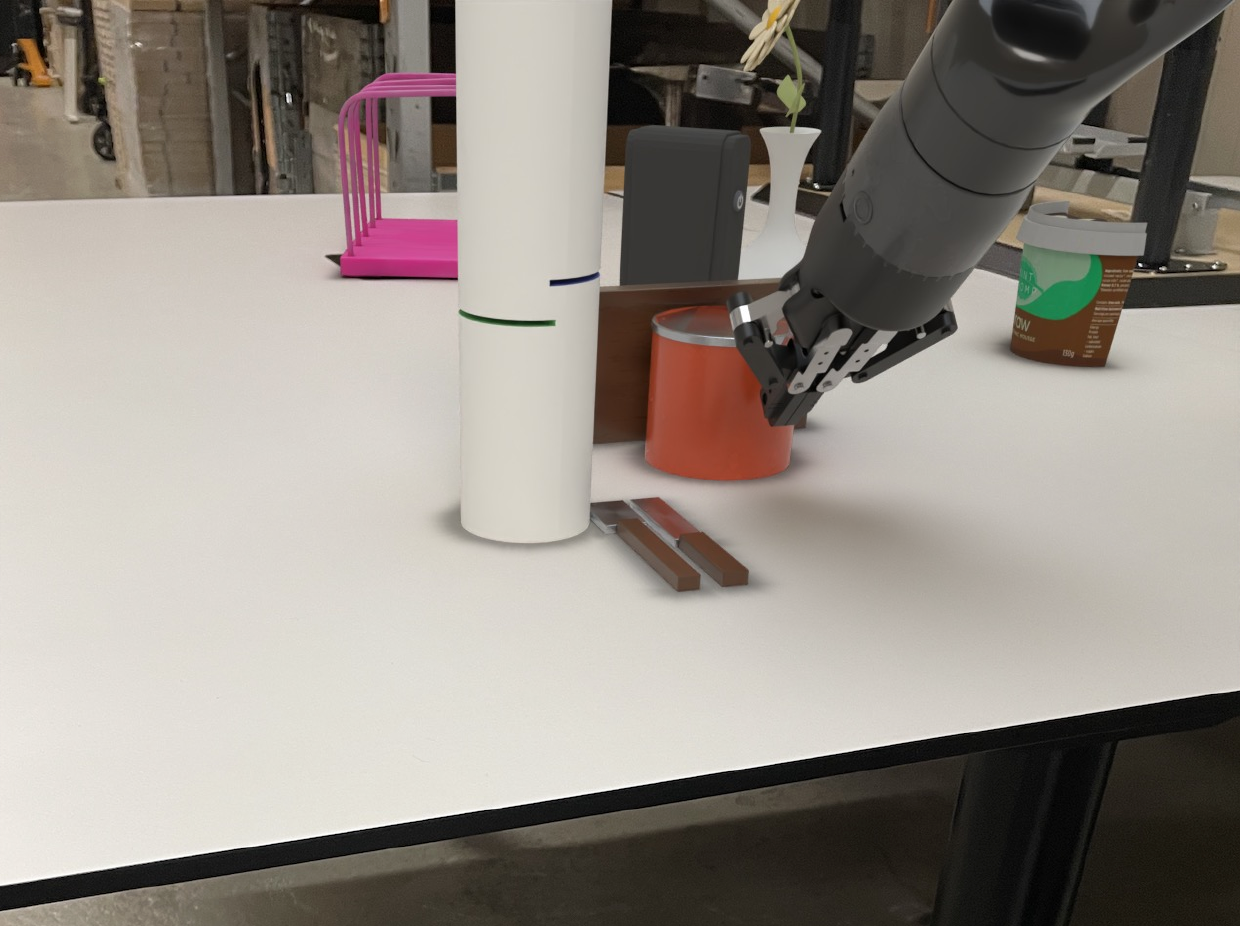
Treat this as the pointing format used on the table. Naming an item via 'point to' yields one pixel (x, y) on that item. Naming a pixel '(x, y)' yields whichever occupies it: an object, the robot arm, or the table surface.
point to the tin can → (708, 401)
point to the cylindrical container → (529, 260)
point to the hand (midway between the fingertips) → (777, 411)
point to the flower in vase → (779, 157)
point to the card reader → (683, 205)
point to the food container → (1072, 284)
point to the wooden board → (645, 346)
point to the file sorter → (382, 239)
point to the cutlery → (676, 532)
